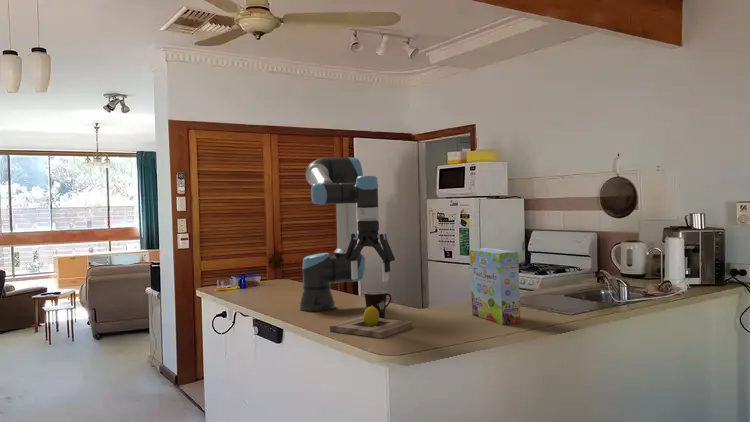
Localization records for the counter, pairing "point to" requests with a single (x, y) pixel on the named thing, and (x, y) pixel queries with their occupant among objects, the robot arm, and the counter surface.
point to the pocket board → (378, 331)
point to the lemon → (371, 316)
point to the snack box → (495, 285)
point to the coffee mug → (377, 301)
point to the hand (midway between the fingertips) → (369, 280)
